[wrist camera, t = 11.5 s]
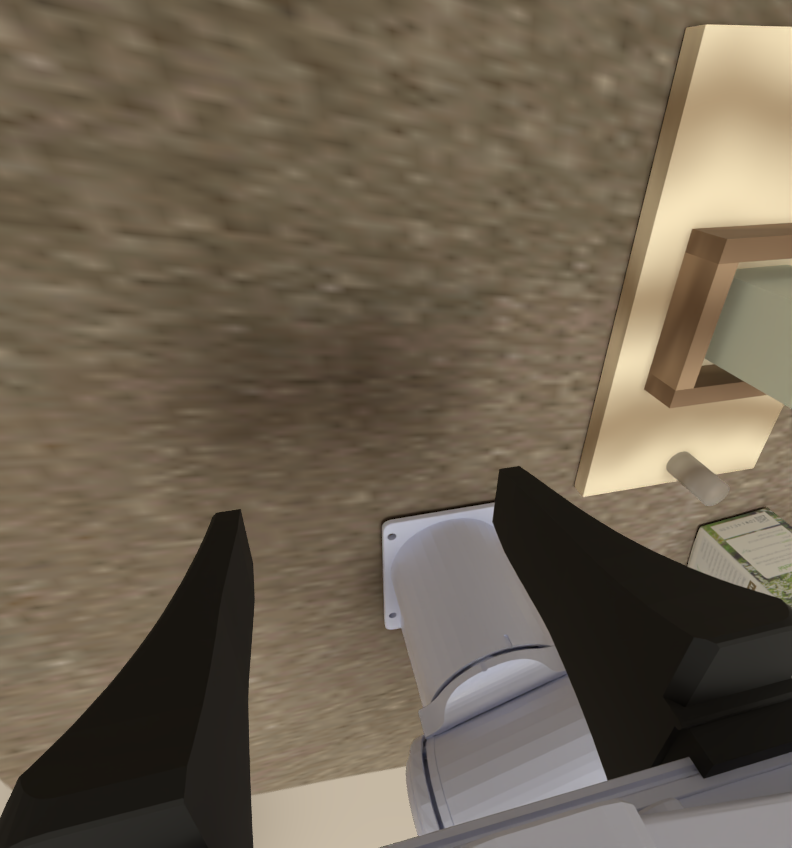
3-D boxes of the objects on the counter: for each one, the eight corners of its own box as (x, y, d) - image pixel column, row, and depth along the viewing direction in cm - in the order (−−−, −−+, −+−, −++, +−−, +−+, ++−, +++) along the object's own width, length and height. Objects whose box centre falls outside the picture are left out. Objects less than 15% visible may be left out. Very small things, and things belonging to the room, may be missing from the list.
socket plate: (740, 458, 33) (794, 498, 30) (574, 486, 31) (612, 532, 27) (935, 34, 21) (1061, 22, 18) (686, 27, 19) (777, 12, 15)
